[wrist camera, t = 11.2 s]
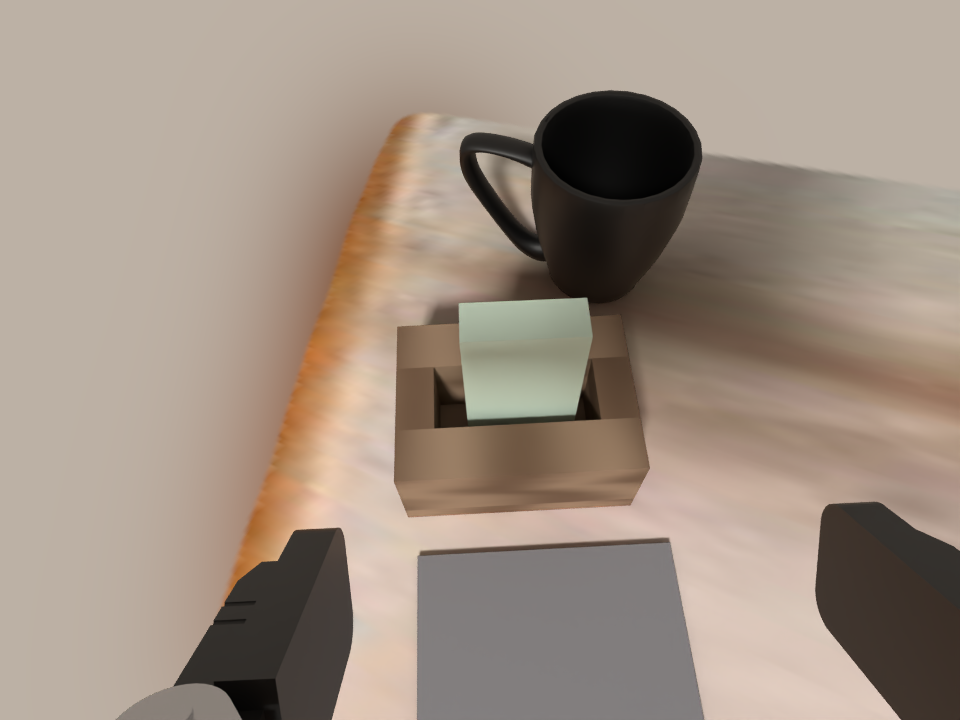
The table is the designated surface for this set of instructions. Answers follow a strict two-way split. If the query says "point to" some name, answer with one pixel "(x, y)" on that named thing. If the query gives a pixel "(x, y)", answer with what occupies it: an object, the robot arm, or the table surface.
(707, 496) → the table surface
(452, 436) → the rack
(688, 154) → the mug
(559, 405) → the tall mint green block
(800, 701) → the table surface
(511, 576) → the mat
